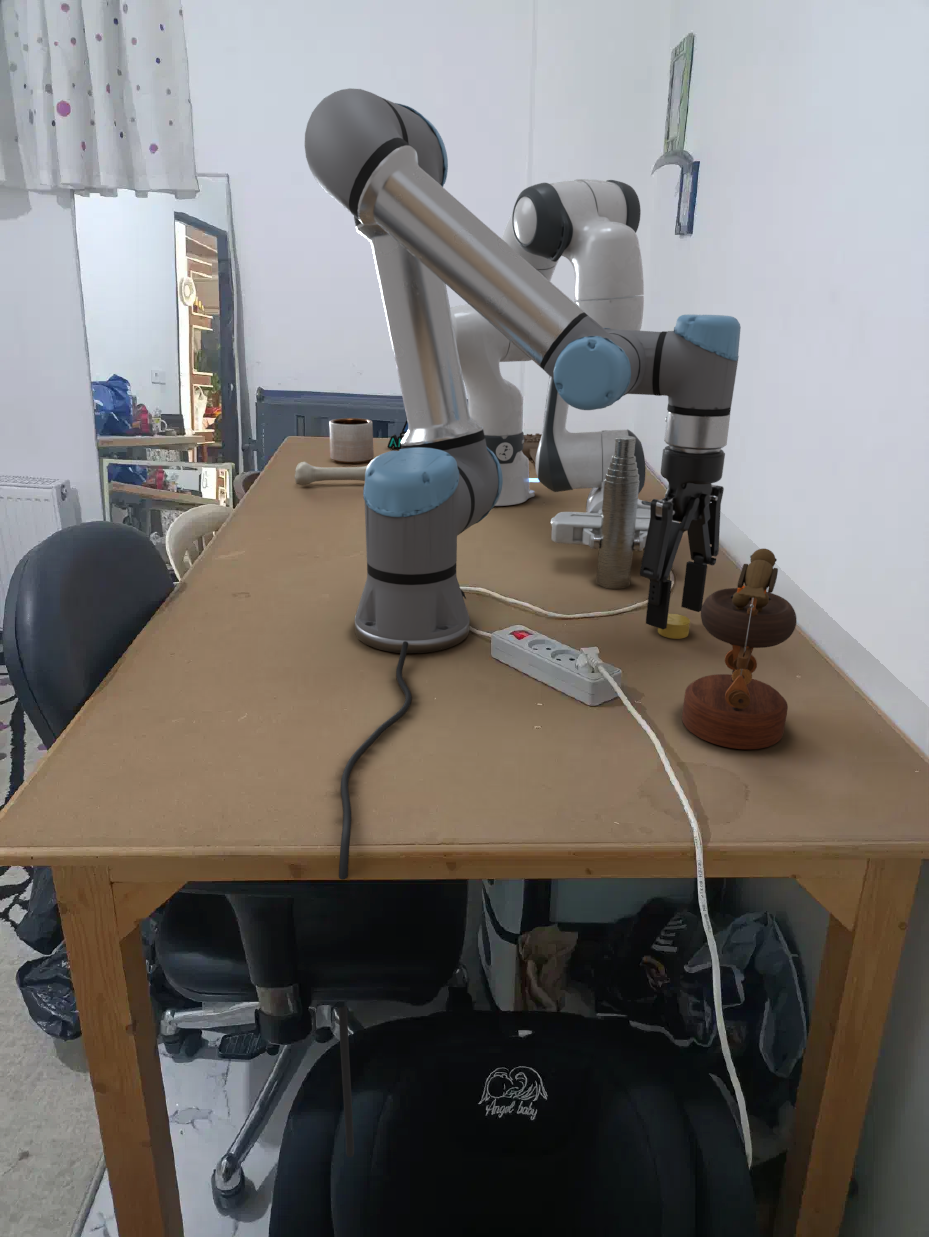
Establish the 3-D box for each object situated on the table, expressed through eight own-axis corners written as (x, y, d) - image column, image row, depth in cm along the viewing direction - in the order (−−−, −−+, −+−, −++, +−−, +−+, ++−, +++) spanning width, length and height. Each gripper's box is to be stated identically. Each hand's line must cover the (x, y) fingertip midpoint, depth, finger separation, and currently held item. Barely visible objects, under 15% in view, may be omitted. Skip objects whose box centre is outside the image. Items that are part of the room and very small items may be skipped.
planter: (327, 456, 217) (325, 418, 214) (369, 454, 220) (368, 417, 217) (334, 465, 208) (332, 425, 204) (377, 463, 211) (376, 424, 207)
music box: (804, 761, 84) (822, 570, 76) (690, 761, 85) (697, 574, 78) (770, 691, 98) (782, 524, 90) (673, 692, 99) (677, 527, 92)
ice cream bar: (497, 468, 207) (497, 451, 206) (489, 446, 233) (489, 431, 231) (582, 468, 208) (583, 451, 207) (564, 447, 234) (565, 431, 232)
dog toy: (385, 480, 194) (384, 458, 192) (387, 486, 188) (386, 464, 186) (295, 482, 191) (294, 460, 189) (294, 488, 185) (293, 465, 183)
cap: (694, 636, 113) (696, 623, 112) (668, 640, 112) (669, 626, 111) (677, 625, 116) (679, 612, 116) (652, 629, 115) (653, 615, 114)
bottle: (623, 591, 129) (637, 442, 120) (591, 585, 131) (603, 438, 122) (633, 581, 133) (647, 436, 124) (602, 575, 135) (614, 433, 127)
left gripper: (710, 433, 114) (690, 591, 123) (620, 453, 100) (604, 630, 109) (762, 441, 109) (737, 605, 118) (675, 463, 95) (654, 647, 104)
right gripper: (551, 499, 141) (549, 521, 129) (676, 505, 139) (686, 528, 126) (549, 535, 144) (547, 561, 131) (672, 541, 142) (681, 568, 129)
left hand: (674, 616), depth 113 cm, fingers open, 8 cm apart
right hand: (617, 544), depth 129 cm, fingers closed on bottle, 5 cm apart
